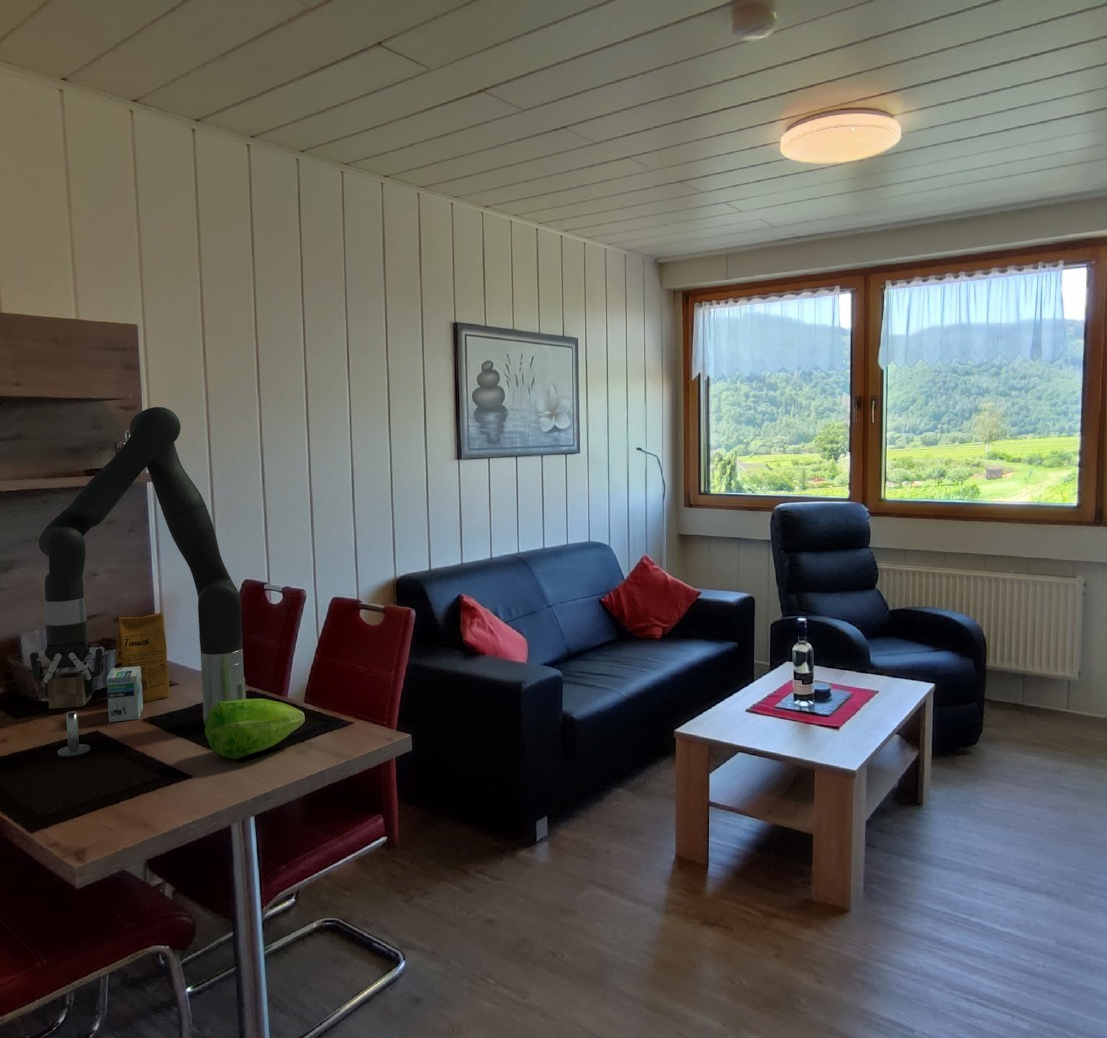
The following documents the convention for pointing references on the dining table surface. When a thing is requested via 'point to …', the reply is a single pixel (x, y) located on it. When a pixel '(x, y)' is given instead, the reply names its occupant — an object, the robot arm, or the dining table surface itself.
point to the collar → (67, 690)
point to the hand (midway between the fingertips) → (70, 697)
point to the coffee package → (145, 653)
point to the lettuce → (249, 725)
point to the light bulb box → (124, 693)
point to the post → (73, 738)
